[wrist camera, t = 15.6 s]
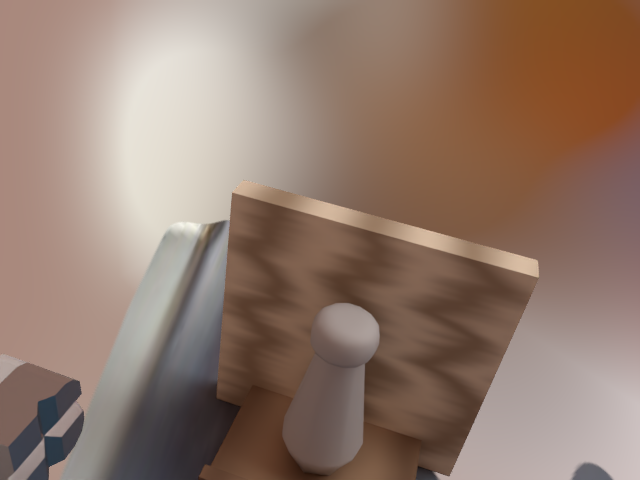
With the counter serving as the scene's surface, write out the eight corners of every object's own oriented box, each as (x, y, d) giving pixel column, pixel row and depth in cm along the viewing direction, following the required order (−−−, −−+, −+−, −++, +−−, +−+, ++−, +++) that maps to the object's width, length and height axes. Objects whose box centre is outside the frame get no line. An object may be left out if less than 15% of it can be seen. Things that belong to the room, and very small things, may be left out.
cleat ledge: (412, 464, 46) (426, 427, 44) (391, 588, 38) (407, 551, 36) (249, 409, 48) (254, 371, 46) (196, 515, 40) (198, 476, 38)
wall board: (451, 456, 48) (537, 260, 37) (449, 476, 46) (538, 277, 35) (225, 381, 50) (243, 180, 40) (216, 398, 49) (232, 192, 38)
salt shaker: (372, 454, 43) (413, 324, 36) (321, 503, 39) (357, 368, 32) (314, 407, 46) (342, 277, 39) (262, 448, 42) (282, 313, 35)
